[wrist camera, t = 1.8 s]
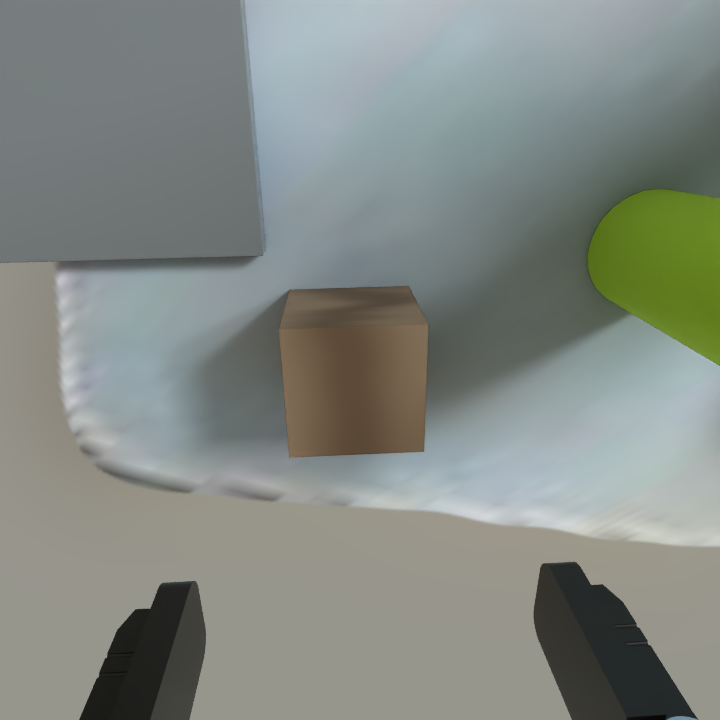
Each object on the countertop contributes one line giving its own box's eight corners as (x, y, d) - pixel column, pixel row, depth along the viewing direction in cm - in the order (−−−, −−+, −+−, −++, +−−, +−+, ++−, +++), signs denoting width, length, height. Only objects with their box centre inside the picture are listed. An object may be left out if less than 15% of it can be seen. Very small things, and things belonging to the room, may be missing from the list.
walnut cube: (408, 285, 27) (428, 324, 21) (406, 391, 29) (423, 451, 24) (289, 289, 27) (278, 329, 21) (297, 396, 29) (289, 457, 23)
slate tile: (239, -54, 21) (234, -64, 20) (265, 250, 26) (262, 255, 25) (-74, -52, 20) (-97, -63, 19) (12, 257, 25) (-3, 262, 24)
